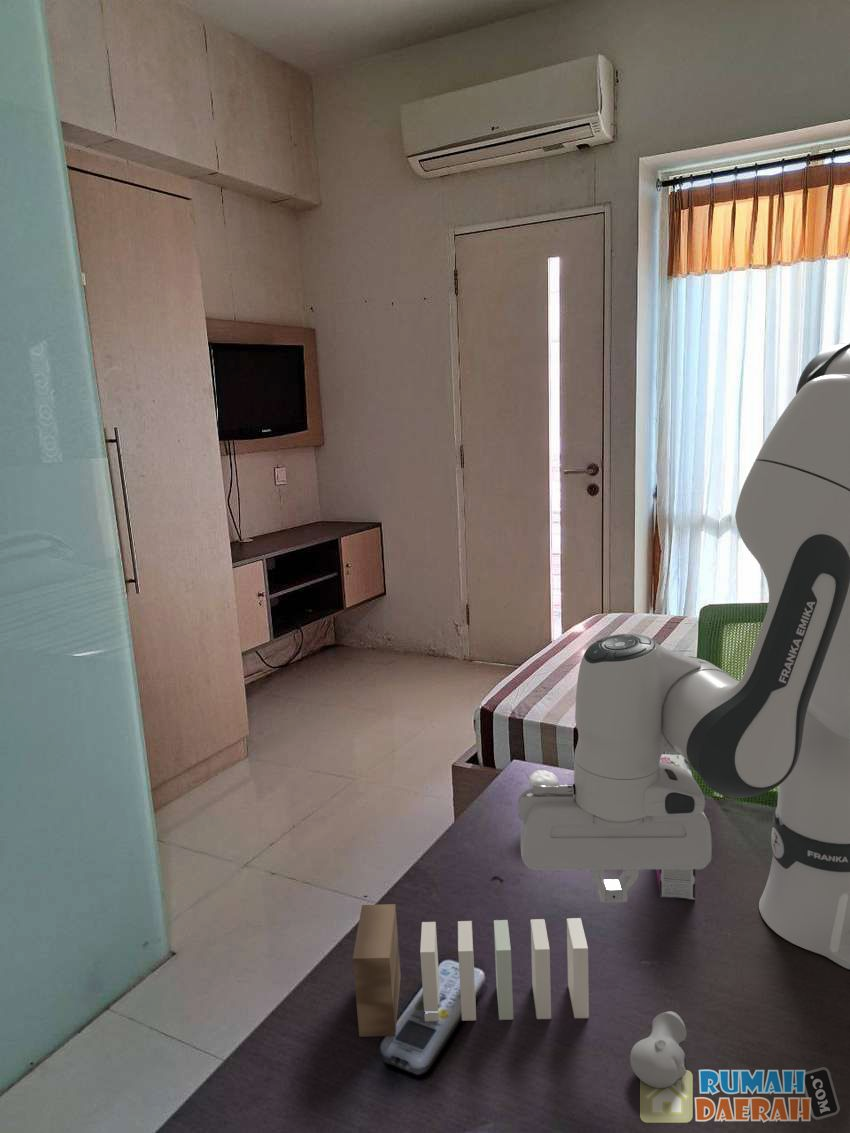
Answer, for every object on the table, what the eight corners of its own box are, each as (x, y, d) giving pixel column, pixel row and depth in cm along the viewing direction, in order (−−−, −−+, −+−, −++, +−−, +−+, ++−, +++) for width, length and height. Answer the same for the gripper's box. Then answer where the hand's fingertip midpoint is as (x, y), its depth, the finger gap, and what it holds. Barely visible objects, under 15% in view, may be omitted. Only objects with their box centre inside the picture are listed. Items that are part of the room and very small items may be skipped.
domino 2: (474, 987, 93) (471, 920, 91) (476, 1020, 88) (472, 950, 86) (461, 987, 93) (457, 921, 91) (461, 1020, 88) (458, 951, 86)
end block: (400, 976, 95) (395, 904, 93) (395, 1035, 86) (389, 957, 84) (368, 977, 95) (362, 905, 93) (359, 1036, 86) (352, 958, 84)
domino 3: (510, 986, 92) (507, 919, 90) (513, 1019, 87) (510, 950, 86) (496, 986, 92) (493, 920, 90) (499, 1019, 88) (496, 950, 86)
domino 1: (439, 987, 93) (435, 921, 91) (438, 1021, 88) (434, 951, 86) (426, 988, 93) (422, 922, 91) (424, 1021, 88) (420, 952, 86)
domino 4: (545, 985, 92) (544, 919, 90) (551, 1018, 87) (549, 949, 85) (532, 985, 92) (530, 919, 90) (536, 1019, 87) (535, 949, 85)
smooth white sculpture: (663, 1112, 77) (618, 1073, 80) (696, 1057, 82) (653, 1023, 85) (676, 1085, 75) (629, 1046, 78) (709, 1031, 81) (665, 997, 84)
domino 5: (581, 984, 92) (580, 918, 90) (588, 1018, 87) (588, 948, 85) (568, 985, 92) (566, 918, 90) (574, 1018, 87) (573, 948, 85)
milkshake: (521, 822, 127) (519, 766, 125) (550, 815, 128) (549, 759, 126) (532, 836, 123) (531, 778, 121) (563, 829, 124) (562, 772, 122)
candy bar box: (651, 852, 117) (652, 751, 113) (686, 854, 116) (688, 752, 112) (657, 899, 106) (658, 789, 103) (696, 902, 105) (698, 791, 102)
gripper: (520, 800, 81) (520, 917, 84) (720, 799, 80) (713, 917, 83) (515, 771, 87) (515, 881, 90) (701, 770, 86) (695, 881, 89)
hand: (612, 899), depth 86 cm, fingers closed
